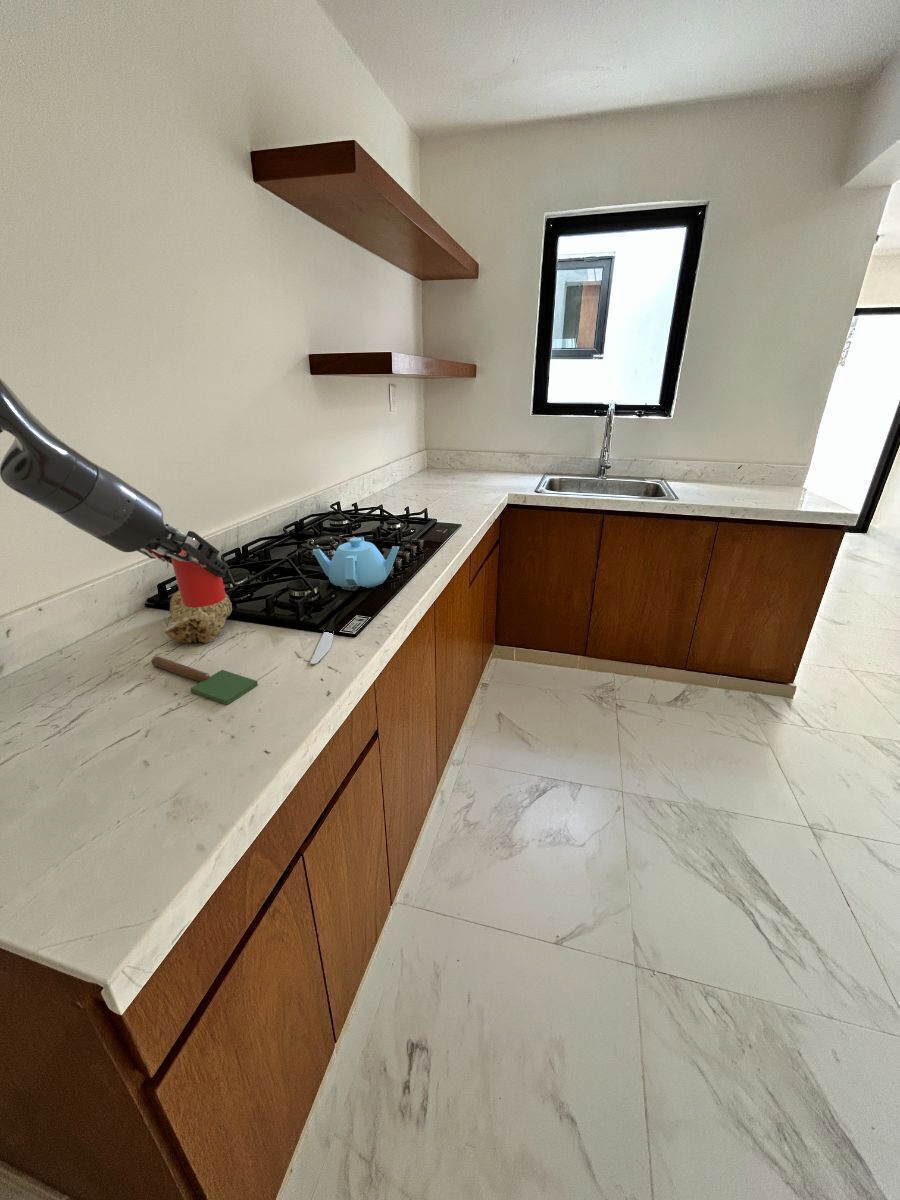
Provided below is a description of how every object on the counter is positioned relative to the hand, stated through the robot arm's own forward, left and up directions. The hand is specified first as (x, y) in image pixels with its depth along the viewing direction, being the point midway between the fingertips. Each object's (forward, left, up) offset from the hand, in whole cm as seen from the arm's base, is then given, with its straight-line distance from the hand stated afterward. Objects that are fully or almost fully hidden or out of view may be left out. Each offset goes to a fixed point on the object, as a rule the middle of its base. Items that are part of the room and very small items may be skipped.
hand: (207, 568), depth 75 cm
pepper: (0, -2, -4) cm, 5 cm away
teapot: (-5, +42, -18) cm, 46 cm away
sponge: (-20, +10, -18) cm, 29 cm away
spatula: (-4, -4, -18) cm, 19 cm away
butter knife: (+5, +19, -18) cm, 27 cm away
